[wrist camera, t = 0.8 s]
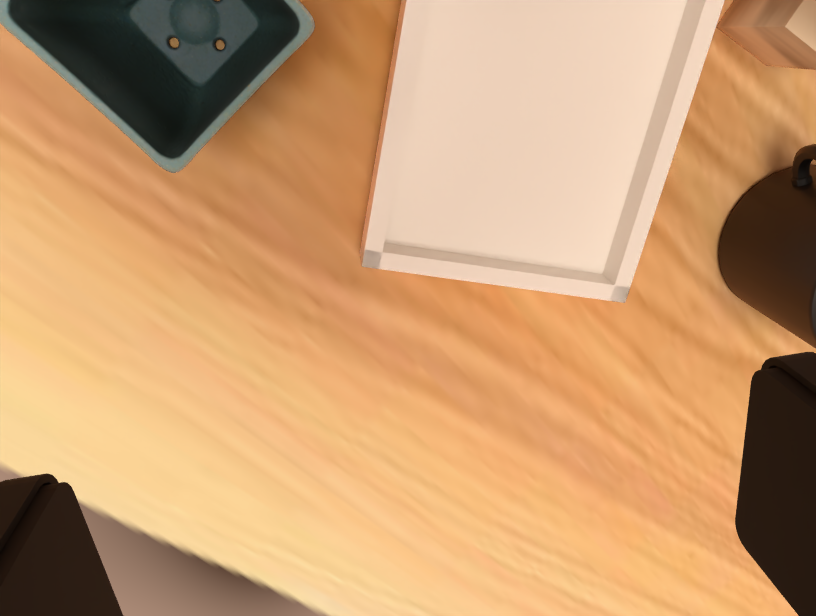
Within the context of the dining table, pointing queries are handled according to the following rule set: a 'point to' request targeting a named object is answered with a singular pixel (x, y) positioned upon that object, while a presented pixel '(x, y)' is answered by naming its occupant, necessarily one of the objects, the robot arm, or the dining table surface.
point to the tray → (531, 138)
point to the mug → (776, 247)
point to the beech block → (774, 30)
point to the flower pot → (162, 60)
